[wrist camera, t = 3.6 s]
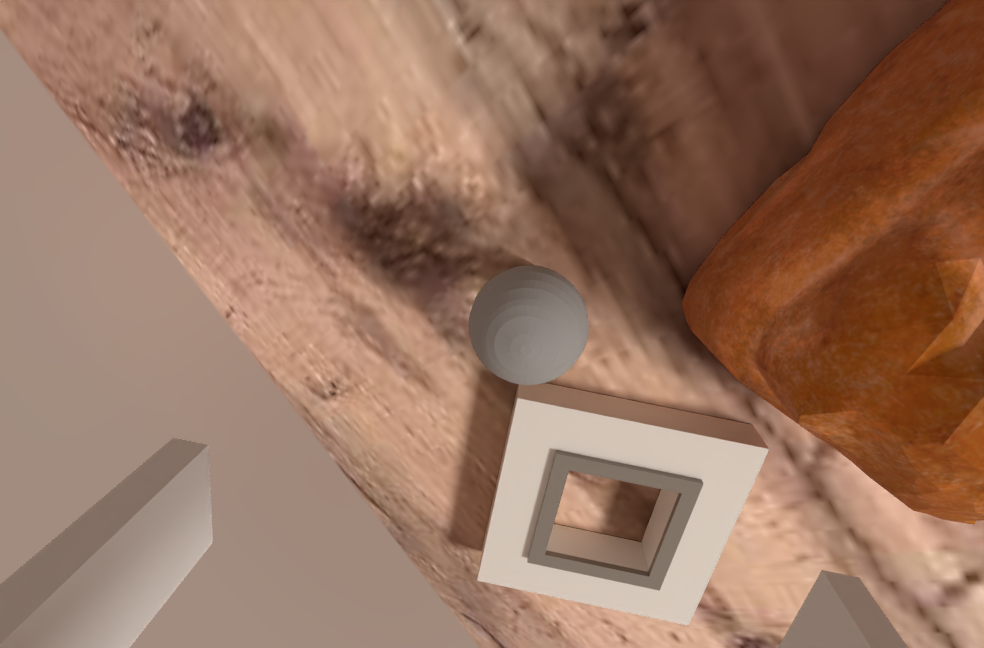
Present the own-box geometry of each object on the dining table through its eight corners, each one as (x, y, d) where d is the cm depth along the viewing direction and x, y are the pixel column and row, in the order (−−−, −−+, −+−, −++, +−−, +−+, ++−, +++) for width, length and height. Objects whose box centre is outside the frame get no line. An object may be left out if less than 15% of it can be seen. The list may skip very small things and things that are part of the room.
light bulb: (548, 216, 29) (550, 260, 19) (595, 295, 30) (617, 371, 21) (469, 265, 30) (435, 328, 21) (517, 338, 32) (505, 427, 22)
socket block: (519, 377, 33) (517, 401, 30) (752, 424, 32) (772, 453, 29) (481, 551, 38) (476, 585, 35) (679, 593, 38) (689, 630, 35)
